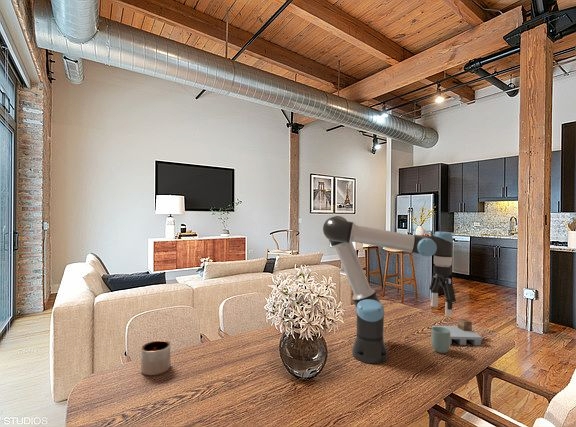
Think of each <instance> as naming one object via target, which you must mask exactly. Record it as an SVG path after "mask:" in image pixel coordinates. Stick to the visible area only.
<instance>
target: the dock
mask: <svg viewBox="0 0 576 427" xmlns="http://www.w3.org/2000/svg"><path fill="white" fill-rule="evenodd" d="M432 327H444V328H447V329H449V330H450V346H451V345H453V344H452V343H453V342H452V341H454V342H456V343H457V344H458V345H459V346H467V341H468V342H469V343H471V344H472V345H473V346H482V340H483V337H482V336H481V335H480V334H478V333H477V332H476V331H474V330H472V331H463V330H461V329H459V328H458V325H431V328H432Z"/></svg>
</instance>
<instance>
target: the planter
mask: <svg viewBox="0 0 576 427" xmlns="http://www.w3.org/2000/svg"><path fill="white" fill-rule="evenodd" d="M140 352H141V354H140V356H141V357H140V358H141V359H140V360H141V361H140V363H141V364H140V370H141V373H142V374H143V375H145V376H149V375H151V376H152V375H153V376H158V375H162V374H164V373H165V372H167V371H168V370H170V368H171V343H170V341H169V340H161V339H160V340H152V341H150V342H147V343H145V344H142V346H141V351H140ZM153 376H152V377H153Z"/></svg>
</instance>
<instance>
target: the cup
mask: <svg viewBox="0 0 576 427" xmlns="http://www.w3.org/2000/svg"><path fill="white" fill-rule="evenodd" d="M430 334H431V336H430V337H431V338H430V339H431V341H430V342H431V346H432V347H431V348H432V349H433V350H434V351H435V352H436V353H440V354H446V353H448V351H449V350H450V346H451V345H450V330H449V329H447V328H444V327H432V326H431V333H430Z"/></svg>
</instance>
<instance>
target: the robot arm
mask: <svg viewBox="0 0 576 427" xmlns="http://www.w3.org/2000/svg"><path fill="white" fill-rule="evenodd" d="M322 232H323V234H324V236H325V238H326V239H328V241H329V243H330V245H331V247H332V248H334V249H335V250H336V253H337V256H338V257H339V260H340V262H341V266H342V268H343V270H344V272H345V275H346V277H347V280H348V283H349V284H350V288H351V291H352V293H353V295H352V301H353V304H354V306H355V308H356V336H355V337H356V338H355V340H354V343H353V346H352V348H351V349H352V352H351V353H352V354H351V355H352V356H353V358H354V359H357V360H358V361H360V362H363V363H367V364H381V363H384V362H386V361H387V360H388V351H387V348H386V343H385V341H384V332H385V330H384V321H385V320H384V318H385V317H384V316H385V308H384V305H383V303H381V301H380V298H378V294H377V292H376V290H375V289H373V288H371V287H370V283H369V281H368V278H367V276H366V274H365V270H364V268H363V266H362V264H361V261H360V258H359V256H358V253H357V251H356V248H355V246H354V243H359V244H363V245H370V246H373V247H374V246H375V247H378V248H379V247H380V248H384V249H390V250H395V251H400V252H401V251H402V252H405V253H410V254H411V253H412V254H417V255H421V256H423V257H426V258H427V257H432V256H433V264H434V265H433V270H432V272H433V273H432V278H431V282H430V285H429V291H431V292H430V293H431V307H433V308H435V307H437V308H439V307H438V305H439V303H438V302H439V289H440V288H441V289H443V290H442V291H443V292H444V296H445V297H444V298H445V307H444V308H445V309H444V310H445V312H444V313H445V314H444V316H445V317H453V303H456V302H457V299H456V294H455V291H454V290H455V289H454V285H453V283H454V282H453V279H452V278H449V276H451V275H452V272H453V268H452V264H453V243H454V240H453V239H454V238H453V234H452V232H449V231H435V232H434V235H423V234H422V235H420V234H408V233H403V232H402V233H401V232H396V231H391V230H385V229H379V228H374V227H368V226H364V225H359V224H358V225H357V224H356V223H355V222H353V221H350V220H347V219H346V218H345V217H344V216H341V215H335V216H331V217H329V218H328V219H326V220H325V222H324V223H323V226H322ZM353 242H354V243H353Z"/></svg>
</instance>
